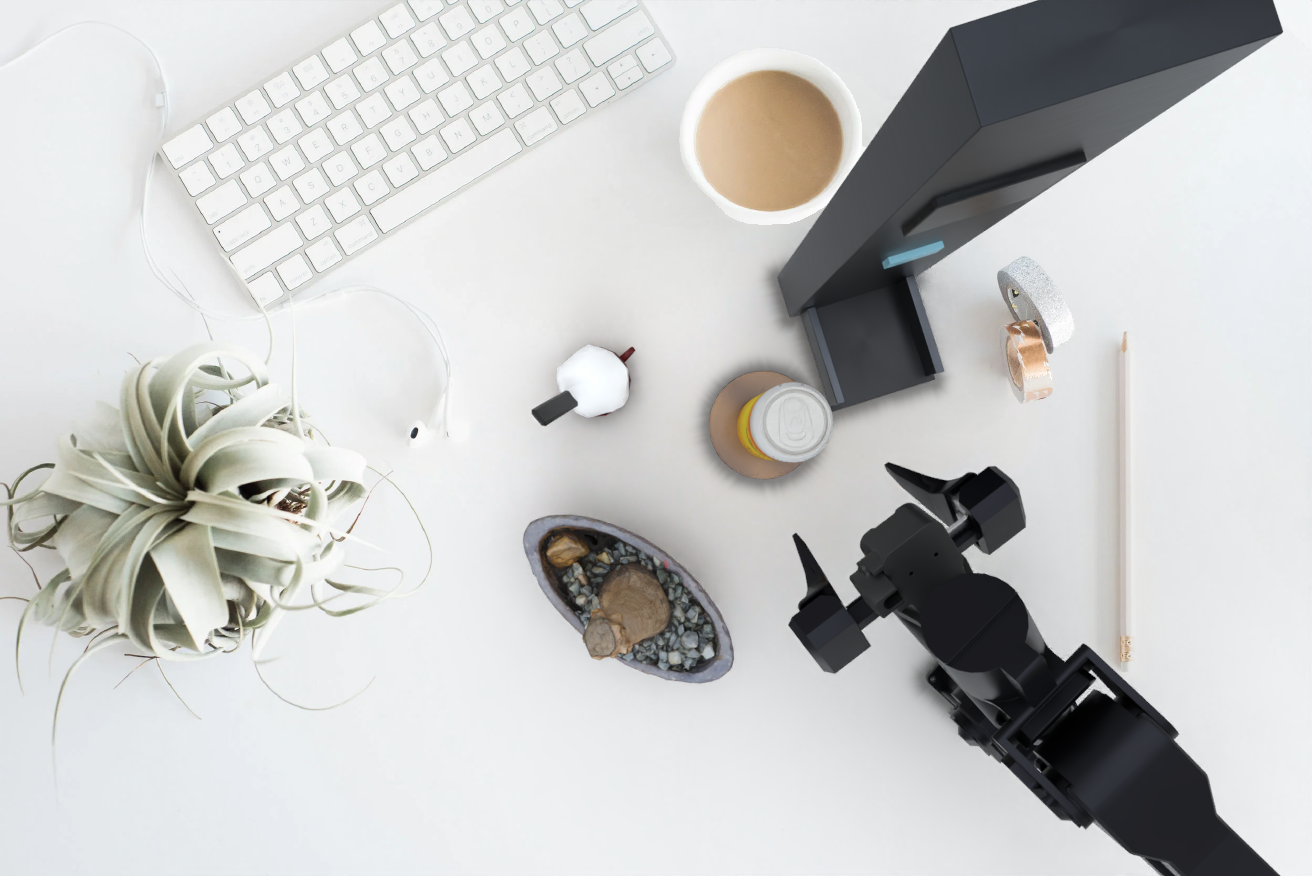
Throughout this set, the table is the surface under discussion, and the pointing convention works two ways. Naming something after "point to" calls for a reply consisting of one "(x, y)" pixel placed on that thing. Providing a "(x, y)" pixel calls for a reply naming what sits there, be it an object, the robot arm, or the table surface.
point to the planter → (628, 599)
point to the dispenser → (989, 160)
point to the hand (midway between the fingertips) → (841, 501)
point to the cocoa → (588, 385)
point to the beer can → (786, 423)
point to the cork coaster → (726, 425)
